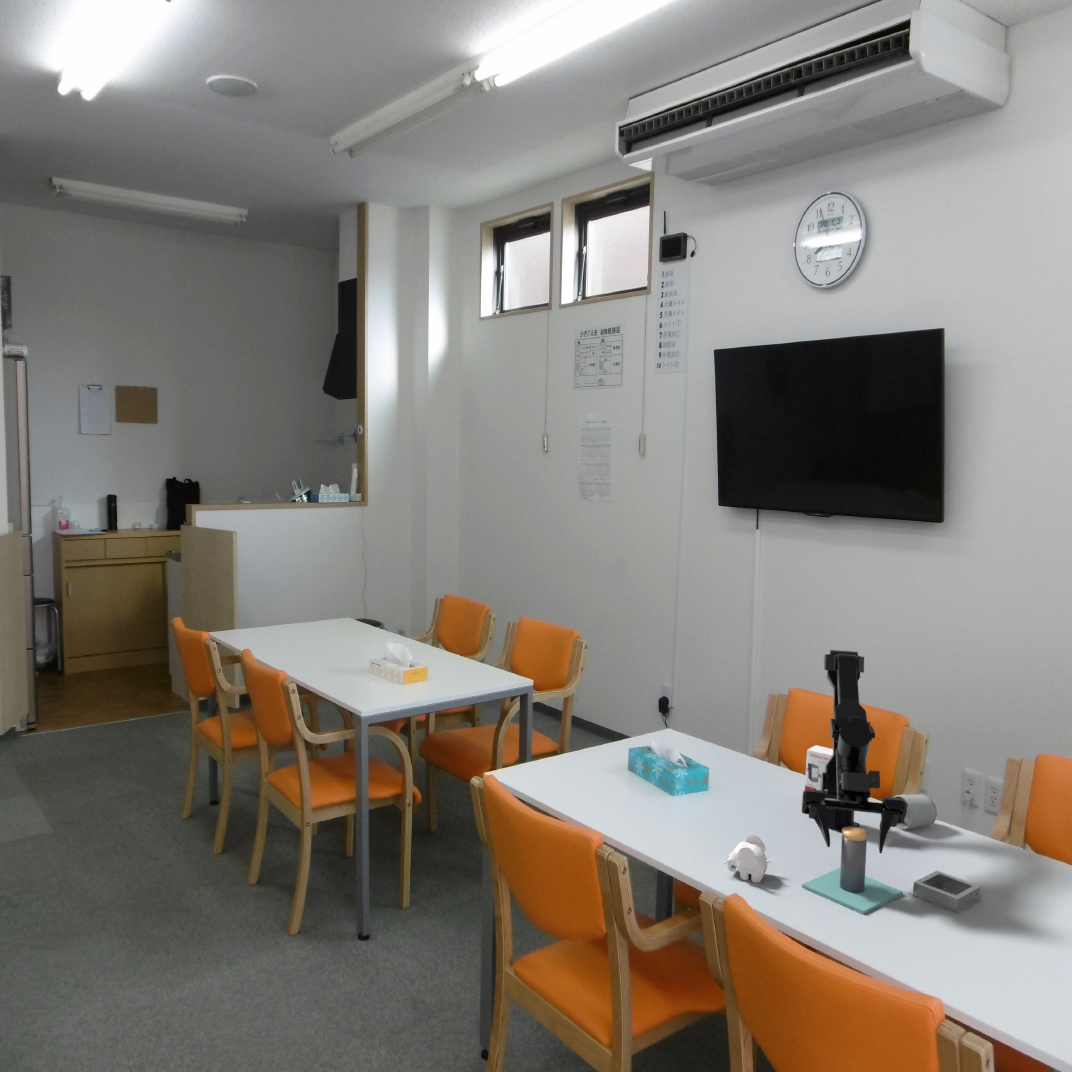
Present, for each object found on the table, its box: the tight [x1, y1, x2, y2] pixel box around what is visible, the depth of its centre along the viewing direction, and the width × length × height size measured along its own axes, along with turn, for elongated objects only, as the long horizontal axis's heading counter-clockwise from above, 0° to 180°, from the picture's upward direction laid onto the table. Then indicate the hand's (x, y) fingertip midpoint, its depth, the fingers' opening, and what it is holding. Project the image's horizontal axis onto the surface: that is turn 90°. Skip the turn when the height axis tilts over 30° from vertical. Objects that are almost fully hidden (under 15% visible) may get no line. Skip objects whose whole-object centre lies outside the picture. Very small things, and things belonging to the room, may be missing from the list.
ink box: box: [804, 745, 833, 791], centre depth 219 cm, size 9×5×12 cm, turn 50°
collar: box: [912, 870, 981, 914], centre depth 169 cm, size 8×8×2 cm
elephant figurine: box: [721, 834, 773, 884], centre depth 176 cm, size 8×10×7 cm
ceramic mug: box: [893, 794, 938, 830], centre depth 204 cm, size 10×8×7 cm
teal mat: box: [801, 866, 904, 915], centre depth 171 cm, size 13×13×1 cm
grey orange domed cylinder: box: [840, 826, 868, 893], centre depth 170 cm, size 4×4×11 cm
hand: (854, 849), depth 169 cm, fingers open, 9 cm apart
